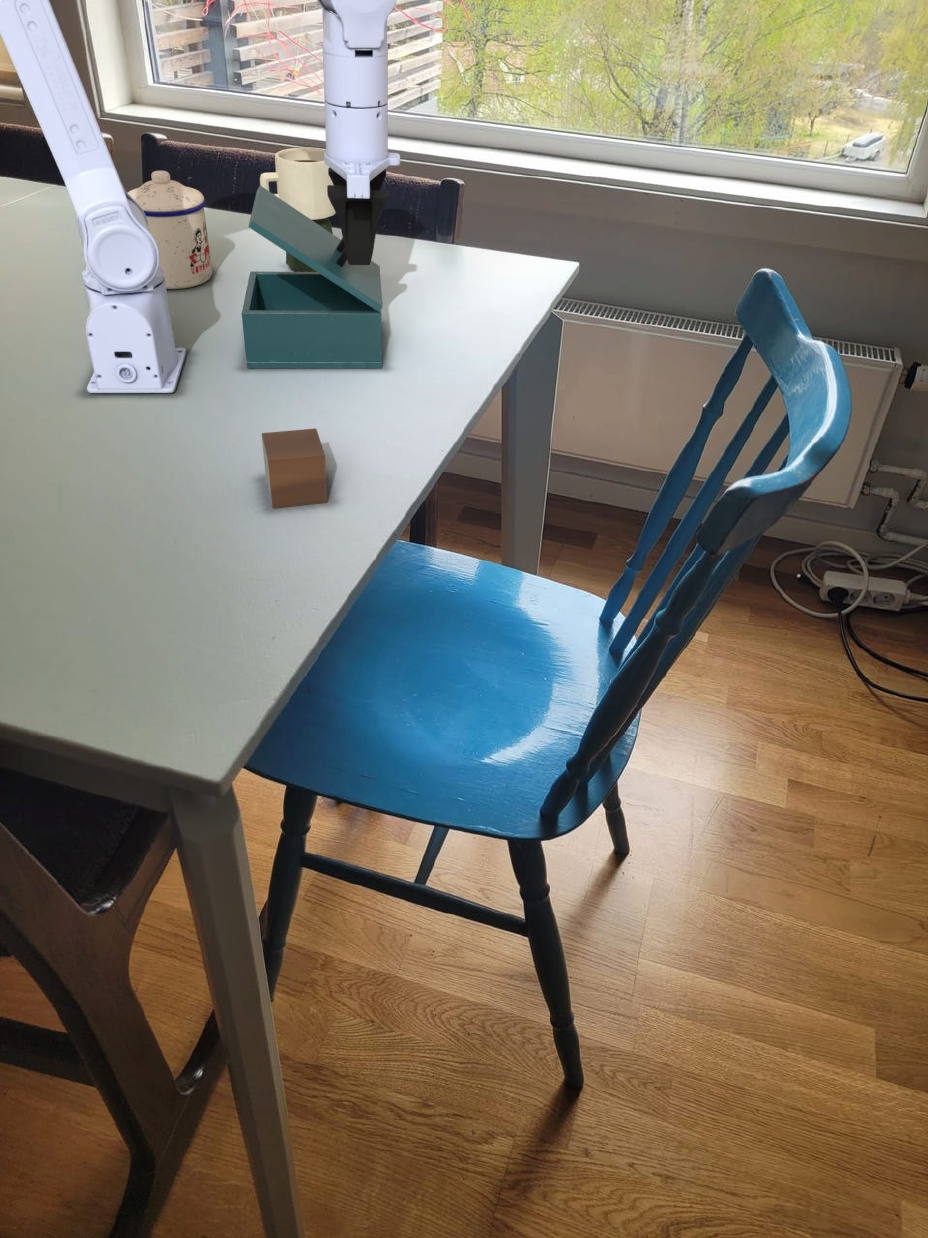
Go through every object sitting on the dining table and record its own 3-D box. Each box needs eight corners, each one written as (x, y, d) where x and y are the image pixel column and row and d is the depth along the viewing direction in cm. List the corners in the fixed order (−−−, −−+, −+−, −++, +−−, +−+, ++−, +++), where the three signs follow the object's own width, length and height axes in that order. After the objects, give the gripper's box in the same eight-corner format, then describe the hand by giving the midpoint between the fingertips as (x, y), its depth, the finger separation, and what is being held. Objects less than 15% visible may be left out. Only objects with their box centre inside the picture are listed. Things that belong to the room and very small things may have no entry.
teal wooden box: (247, 368, 96) (241, 312, 92) (255, 323, 104) (250, 270, 101) (381, 368, 97) (381, 313, 93) (378, 324, 106) (378, 272, 102)
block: (327, 502, 77) (325, 454, 74) (272, 508, 76) (267, 459, 73) (319, 475, 80) (316, 427, 78) (266, 480, 79) (261, 432, 77)
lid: (248, 226, 87) (272, 183, 85) (256, 190, 96) (279, 150, 94) (379, 312, 93) (405, 274, 91) (376, 271, 102) (399, 235, 100)
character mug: (348, 255, 122) (345, 145, 114) (362, 275, 117) (359, 160, 109) (262, 261, 119) (253, 148, 111) (272, 281, 114) (263, 164, 106)
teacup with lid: (210, 291, 111) (197, 184, 104) (129, 290, 110) (110, 182, 103) (220, 256, 120) (208, 155, 113) (145, 255, 119) (129, 154, 112)
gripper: (404, 121, 82) (402, 280, 90) (396, 86, 93) (396, 231, 101) (320, 118, 81) (327, 279, 89) (323, 84, 92) (328, 230, 100)
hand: (358, 254), depth 95 cm, fingers closed on lid, 5 cm apart
